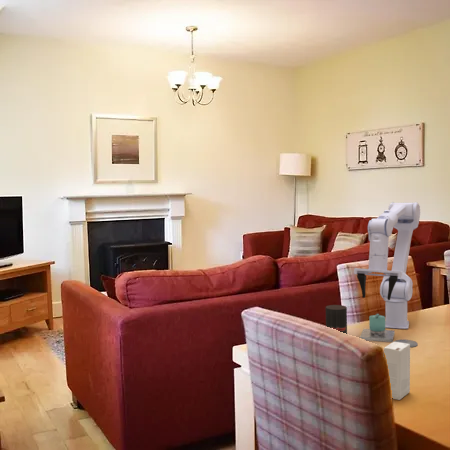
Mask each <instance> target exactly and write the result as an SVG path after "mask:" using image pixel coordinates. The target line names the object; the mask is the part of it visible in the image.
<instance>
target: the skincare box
mask: <svg viewBox="0 0 450 450" xmlns="http://www.w3.org/2000/svg"><path fill="white" fill-rule="evenodd" d="M384 353H385V355H386V359H387V364H388V369H389V376H390V383H391V390H392V397H393V400H398V401H400V400H402V399H403V398H404V397H405V396H407V395H408V394H409V393H410V390H411V387H410V386H411V347H410V344H407V343H401V342H394V341H393V342H390V343H389V344H388V345H386V346H385V347H383V354H384Z"/></svg>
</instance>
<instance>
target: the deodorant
mask: <svg viewBox="0 0 450 450" xmlns="http://www.w3.org/2000/svg"><path fill="white" fill-rule="evenodd" d="M347 307H348V306H346V305H341V304H330V305H326V306H325V327H326V326H327V327H330V328H333V329H336V330H338V331H340V332H343V333H346V334H347V335H348V313H347V312H348V308H347Z"/></svg>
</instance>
